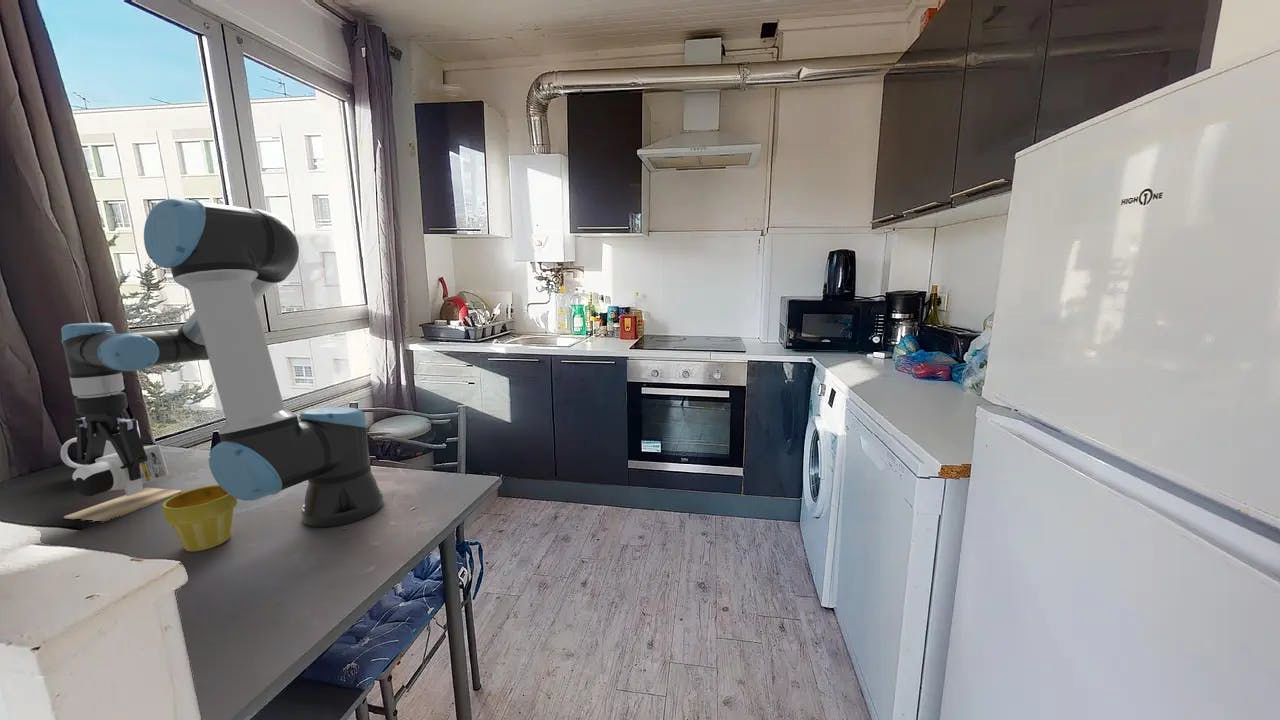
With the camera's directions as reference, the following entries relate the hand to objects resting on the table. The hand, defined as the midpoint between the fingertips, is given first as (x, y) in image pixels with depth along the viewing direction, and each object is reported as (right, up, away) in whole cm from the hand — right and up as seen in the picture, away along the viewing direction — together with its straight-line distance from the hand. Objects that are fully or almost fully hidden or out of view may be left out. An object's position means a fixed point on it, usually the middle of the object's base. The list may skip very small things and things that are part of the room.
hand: (118, 491), depth 106 cm
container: (+1, +6, +6) cm, 9 cm away
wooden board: (0, -3, +1) cm, 4 cm away
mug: (-25, -1, +21) cm, 32 cm away
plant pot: (+34, -6, -15) cm, 37 cm away
